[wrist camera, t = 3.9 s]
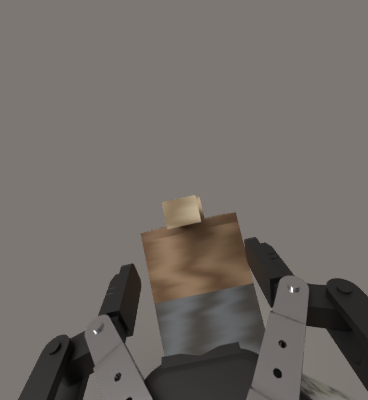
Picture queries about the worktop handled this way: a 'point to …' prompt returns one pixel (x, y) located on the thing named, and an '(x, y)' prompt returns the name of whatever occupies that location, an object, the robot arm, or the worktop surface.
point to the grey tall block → (203, 287)
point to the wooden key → (183, 211)
